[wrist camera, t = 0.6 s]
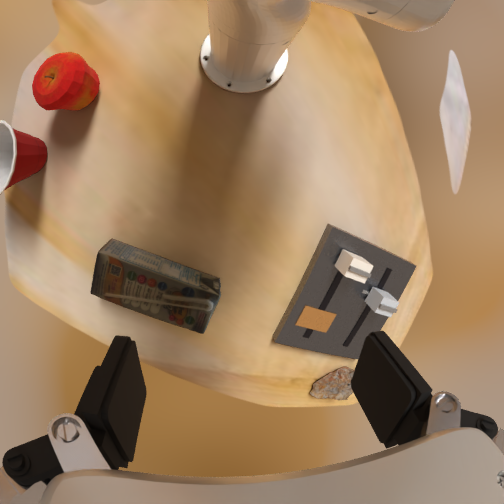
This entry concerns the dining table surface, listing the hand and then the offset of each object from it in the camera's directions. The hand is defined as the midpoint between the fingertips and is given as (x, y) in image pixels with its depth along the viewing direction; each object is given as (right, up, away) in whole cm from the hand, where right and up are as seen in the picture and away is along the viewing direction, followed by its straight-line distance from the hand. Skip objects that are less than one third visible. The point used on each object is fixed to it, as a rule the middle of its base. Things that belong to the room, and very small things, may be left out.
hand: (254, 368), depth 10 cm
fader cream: (+15, +3, +33) cm, 36 cm away
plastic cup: (-36, +21, +24) cm, 48 cm away
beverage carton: (-15, 0, +33) cm, 37 cm away
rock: (+18, -24, +46) cm, 55 cm away
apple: (-26, +29, +22) cm, 45 cm away
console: (+17, -4, +38) cm, 42 cm away
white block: (+22, -3, +36) cm, 42 cm away
